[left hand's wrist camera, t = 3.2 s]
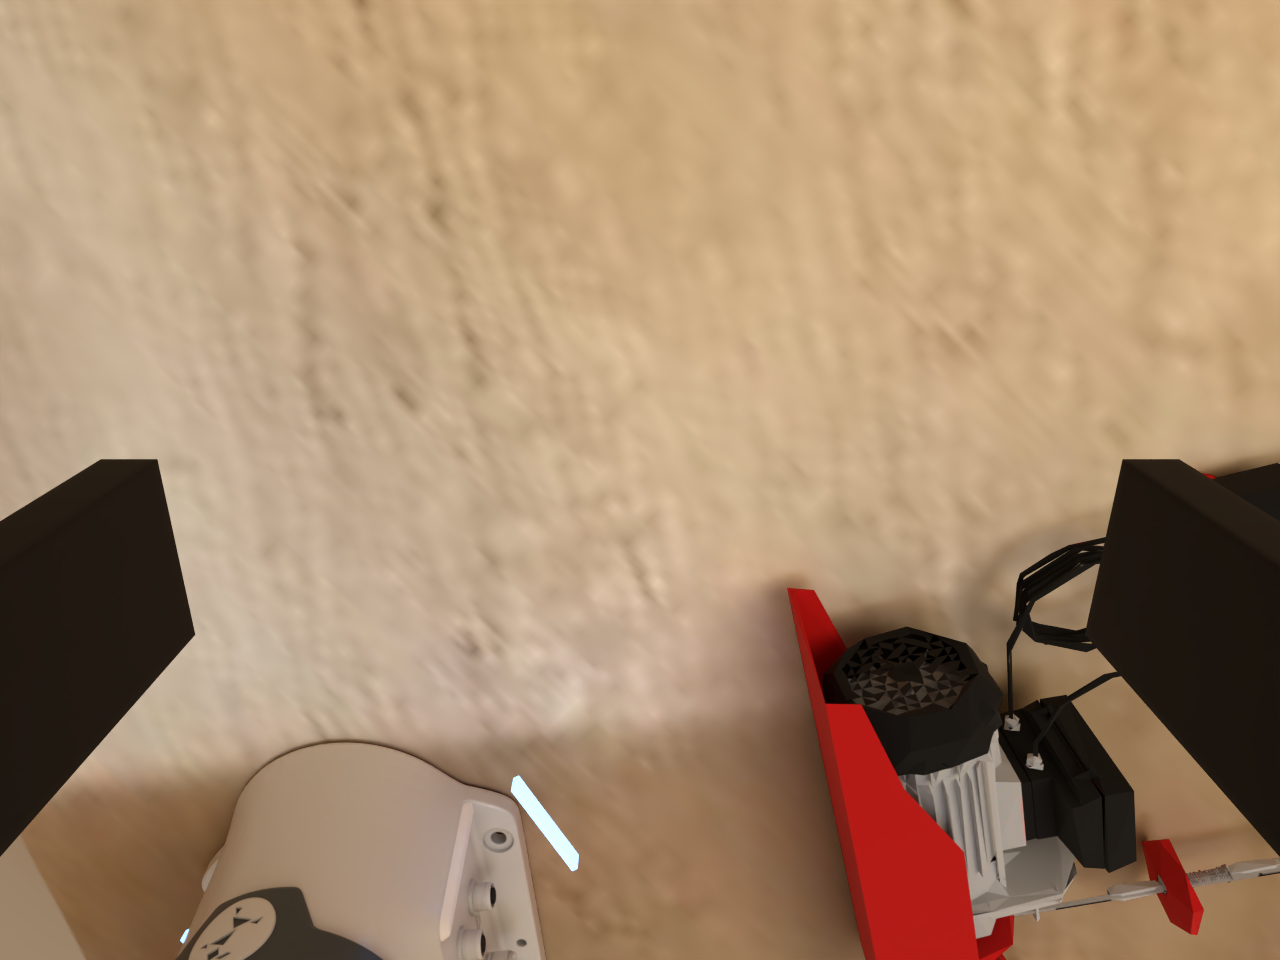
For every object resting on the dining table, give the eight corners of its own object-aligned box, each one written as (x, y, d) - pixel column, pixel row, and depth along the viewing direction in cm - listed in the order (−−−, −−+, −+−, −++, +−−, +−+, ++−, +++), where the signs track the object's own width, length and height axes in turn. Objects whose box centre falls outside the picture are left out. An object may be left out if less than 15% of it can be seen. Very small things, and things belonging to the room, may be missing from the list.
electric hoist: (1651, 521, 32) (821, 693, 34) (1526, 999, 42) (904, 1102, 45) (1419, 421, 41) (780, 562, 43) (1366, 835, 51) (856, 928, 54)
